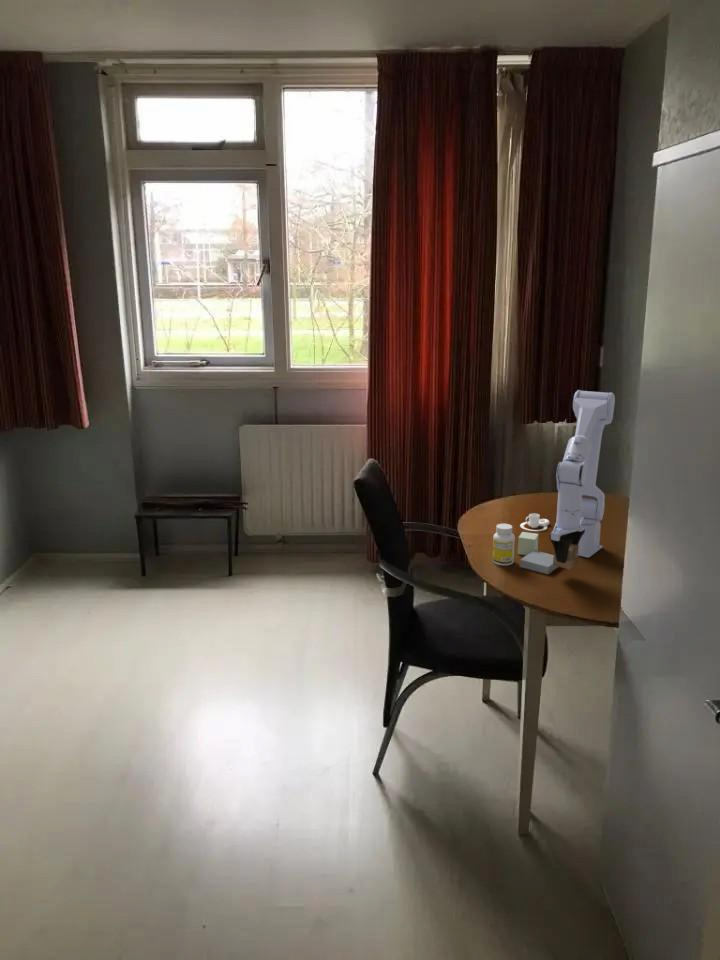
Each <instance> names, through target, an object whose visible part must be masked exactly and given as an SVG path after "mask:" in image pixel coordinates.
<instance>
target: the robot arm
mask: <svg viewBox="0 0 720 960" xmlns="http://www.w3.org/2000/svg"><path fill="white" fill-rule="evenodd" d="M615 396H616V395H615V394H614V393H613V392H602V391H588V390H581V389H577V390H576V391H575V393H574V395H573V400H572V410H573V413H574V416H575V418H576V420H577V421H576V422H577V423H576V428H575V434H574V436H572V437H570V438H569V439H568V441H567V445H566V447H565V451H564V456H563V458H562V461H558V464H557V467H556V476H555V477H556V490H557V491H558V492H557V507H556V520H555V523H554V524H555V525H554V527H553V530H552V531H551V532H550V534H549V540H550V542H551V545H552V546H553V551H554V550H555V555H556V560H557V562H561V563H565V562H566V559H567V555H568V550H569V547H570V545H571V544H575V545H579V549H578V556H579V557H584V558H588V559H589V558H590V557H592V556H593V555H594V554H596V553H597V552H598V551H600V550H601V549H602V548H603V545H600V539H601V530H602V529H601V528H602V526H601V522H600V521H602V520H603V518H604V517H603V516H604V513H605V498H606V495H605V493H604V492H603V491H602V490H601V489H600V488H599V487H598V486H597V485H596V483H597V476H598V469H599V459H600V452H601V445H602V444H601V443H602V437H603V436H602V435H603V431H604V430H605V429H604V428H605V426H607V425H610V424H612V421H613V420H614V419H613V417H614V412H615V411H614V410H615V402H616V397H615Z"/></svg>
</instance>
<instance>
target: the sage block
mask: <svg viewBox="0 0 720 960" xmlns="http://www.w3.org/2000/svg"><path fill="white" fill-rule="evenodd" d="M517 540H518V541H517V555H522V556H526V555H528V554H529V553H531V552H532V551H534V550H536V551H539V550H538V547H539V533H533V532H528V531H527V532H525V531H522V532H521V533H520V534H519V535H518V539H517Z"/></svg>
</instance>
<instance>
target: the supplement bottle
mask: <svg viewBox="0 0 720 960" xmlns="http://www.w3.org/2000/svg"><path fill="white" fill-rule="evenodd" d="M495 531H496V532H495V533H494V534H493V536H492V537H493V538H492V562H493V563H494V564H495V565H497V566H511V565H513V564H514V562H515V548H516V547H515V544H516V537H515V534H514V533H513V525H511V524H509V523H497V524H496V530H495Z"/></svg>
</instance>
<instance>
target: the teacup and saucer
mask: <svg viewBox="0 0 720 960" xmlns="http://www.w3.org/2000/svg"><path fill="white" fill-rule="evenodd" d="M527 520H528V521H527ZM549 524H550V520H549V519H548V518H540V514H539V513H535V512H533V513H529V514H528V516H526V518H525V521H524V522H522V523H520V525H519V527H520V528H521V529H523V530H525V531H529V532H543V531H545V530H547V529H548V526H549ZM525 525H528V526H529V527H530V528H533V529H529V528H527V527H525ZM538 527H543V528H541V529H537V528H538Z"/></svg>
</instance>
